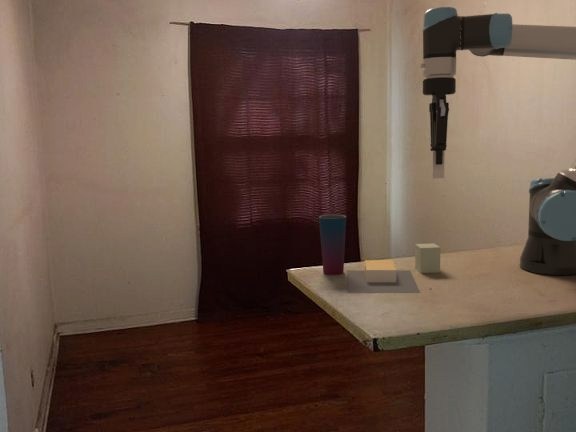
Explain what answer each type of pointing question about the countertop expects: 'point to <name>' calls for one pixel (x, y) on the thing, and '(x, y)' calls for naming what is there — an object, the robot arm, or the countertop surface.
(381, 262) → the ochre slab
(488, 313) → the countertop surface
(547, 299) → the countertop surface
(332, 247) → the cup
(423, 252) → the sage block
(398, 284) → the mat
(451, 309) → the countertop surface
